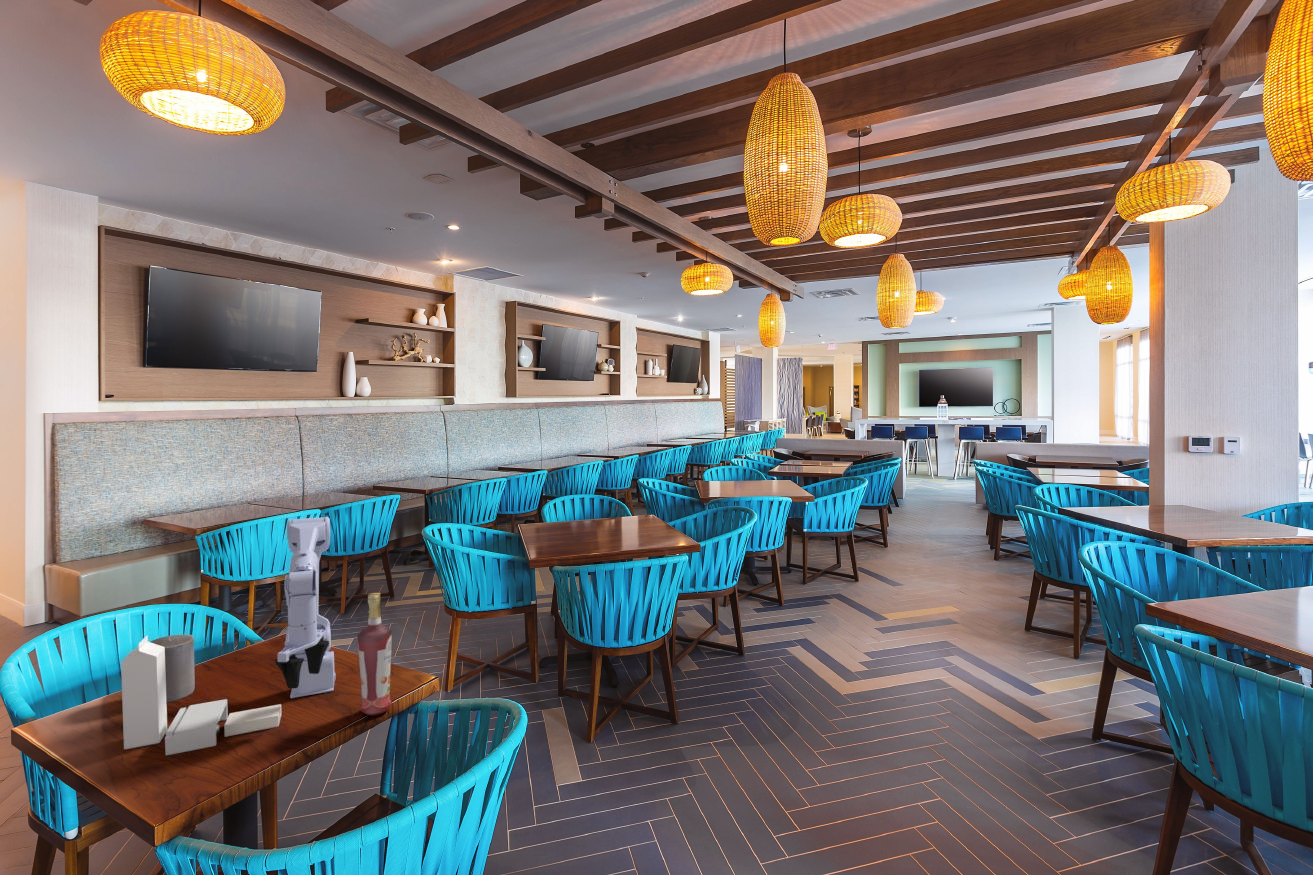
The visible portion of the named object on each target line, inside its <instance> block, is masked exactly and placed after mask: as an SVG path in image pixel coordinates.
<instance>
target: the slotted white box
mask: <svg viewBox="0 0 1313 875" xmlns="http://www.w3.org/2000/svg"><path fill="white" fill-rule="evenodd" d="M228 712H229V711H228V699H227V698H224V699H220V700H219V699H218V700H213V701H209V702H207V701H206V702H202V703H196V704H190V705H189V706H188V707H181V708H179V710H178V712H177V714H176V715H175V717H174V718H173V720H172V722H171V723H170V725H169V726H168V727H167V731H166V733H165V736H164V743H165V744H164V746H165V748H164V749H165V756H170V755H176V754H180V753H185V752H191V751H195V750H200V749H201V750H202V749H206V748H210V747H216V746H217V734H219V733H220V725H219V724H218V723H219V722H221V721H227V718H228V716H229V715H228V714H229V713H228Z"/></svg>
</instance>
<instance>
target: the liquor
mask: <svg viewBox="0 0 1313 875" xmlns="http://www.w3.org/2000/svg"><path fill="white" fill-rule="evenodd" d="M367 604H368V608H369V609H368V619H367V620H368V621H367V627H365V628H363V629H362V630H360V631H359V632H358V634H357V645H358V646H357V647H358V649H357V650H358V661H359V671H360V672H359V673H360V674H359V675H360V686H361V688H360V689H361V706H360V708H359V710H360V712H361V713H363V714H365V715H367V716H369V717H370V716H371V717H375V716H380V715H382V714H384V713H385V712H386V711H388V709H389V708H390V707H391V706H392V704H393V701H391V695H390V693H391V691H390V690H391V662H392V636H393V635H392V633H393V632H392V631H393V630H392V629H391V628H389V627H388V626H386V625H382V624H383V623H382V617H381V608H380V605H381V592H371V593H368V594H367Z"/></svg>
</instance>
